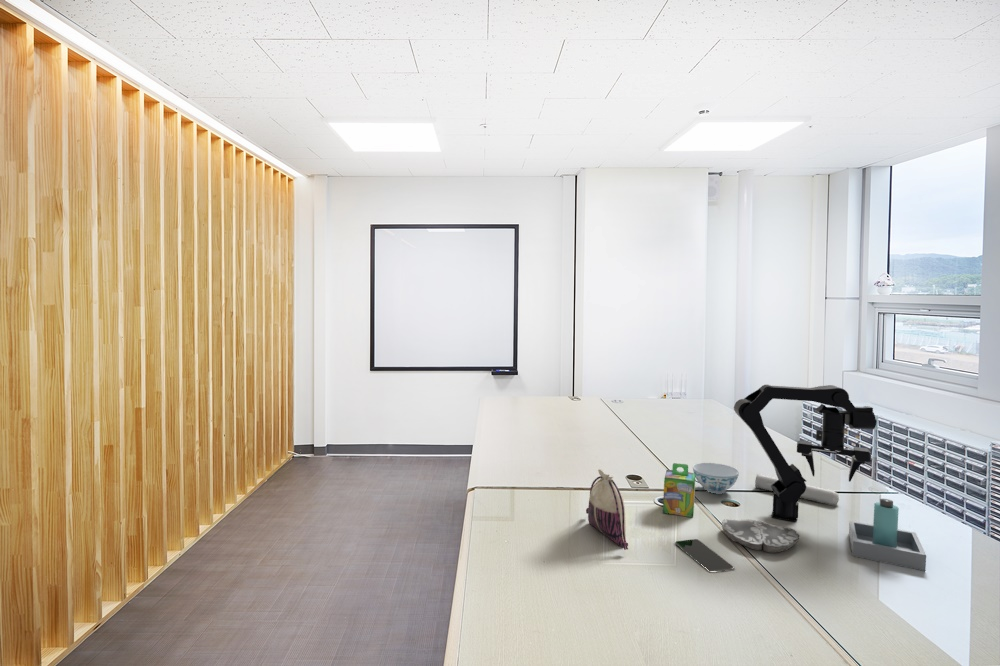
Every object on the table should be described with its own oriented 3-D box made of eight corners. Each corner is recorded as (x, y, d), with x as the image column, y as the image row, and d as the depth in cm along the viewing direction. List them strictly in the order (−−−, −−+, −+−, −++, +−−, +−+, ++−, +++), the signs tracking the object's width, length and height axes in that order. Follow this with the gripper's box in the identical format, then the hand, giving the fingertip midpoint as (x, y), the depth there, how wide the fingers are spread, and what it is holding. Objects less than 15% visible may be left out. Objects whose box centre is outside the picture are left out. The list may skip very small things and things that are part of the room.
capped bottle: (881, 552, 138) (883, 504, 137) (867, 543, 143) (870, 496, 142) (901, 553, 137) (903, 504, 137) (887, 544, 143) (889, 497, 142)
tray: (852, 555, 137) (853, 540, 137) (848, 534, 150) (849, 520, 150) (925, 571, 130) (926, 555, 130) (914, 546, 143) (915, 532, 142)
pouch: (571, 520, 159) (572, 458, 158) (594, 516, 162) (595, 455, 161) (619, 557, 136) (621, 485, 135) (645, 551, 139) (647, 481, 138)
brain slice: (723, 550, 141) (723, 539, 140) (720, 525, 157) (720, 515, 156) (806, 563, 134) (807, 551, 134) (794, 535, 150) (794, 525, 150)
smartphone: (710, 571, 128) (674, 541, 144) (710, 575, 128) (673, 544, 144) (736, 568, 130) (697, 538, 145) (736, 572, 130) (697, 542, 145)
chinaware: (698, 480, 195) (699, 460, 195) (742, 489, 187) (743, 467, 186) (686, 492, 183) (687, 470, 183) (732, 501, 174) (733, 479, 174)
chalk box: (662, 513, 164) (663, 467, 164) (665, 503, 173) (666, 459, 172) (694, 518, 161) (695, 470, 160) (694, 507, 169) (696, 462, 169)
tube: (841, 492, 174) (760, 474, 191) (838, 490, 170) (756, 472, 187) (839, 508, 173) (758, 488, 190) (836, 507, 169) (754, 487, 186)
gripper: (868, 426, 160) (866, 476, 161) (798, 419, 170) (796, 466, 171) (872, 433, 151) (869, 487, 152) (797, 425, 160) (795, 476, 161)
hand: (831, 478), depth 159 cm, fingers open, 9 cm apart
